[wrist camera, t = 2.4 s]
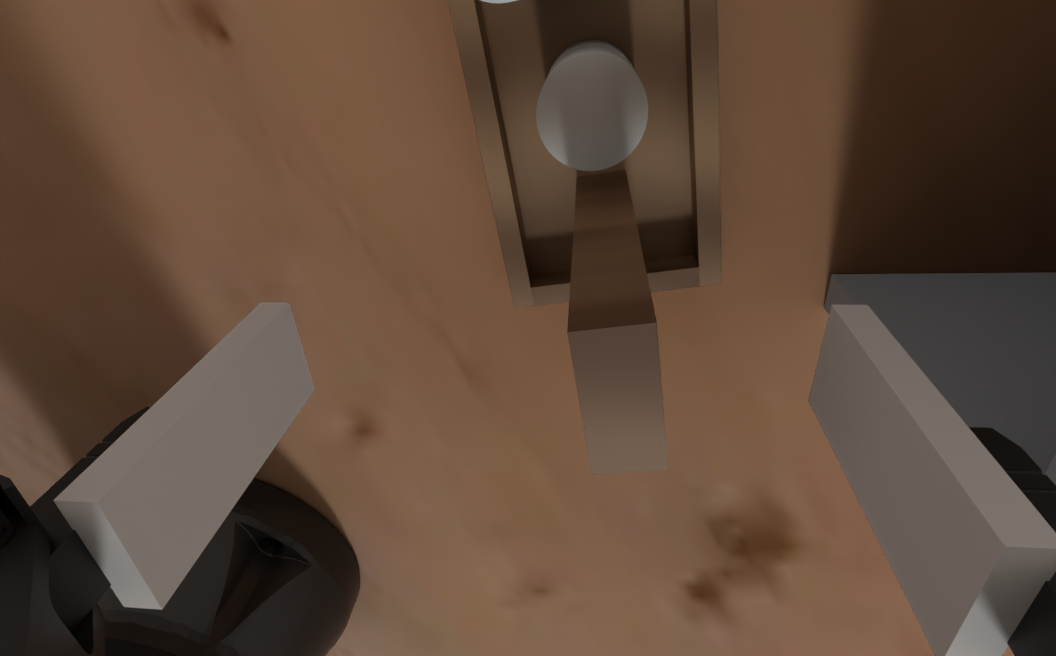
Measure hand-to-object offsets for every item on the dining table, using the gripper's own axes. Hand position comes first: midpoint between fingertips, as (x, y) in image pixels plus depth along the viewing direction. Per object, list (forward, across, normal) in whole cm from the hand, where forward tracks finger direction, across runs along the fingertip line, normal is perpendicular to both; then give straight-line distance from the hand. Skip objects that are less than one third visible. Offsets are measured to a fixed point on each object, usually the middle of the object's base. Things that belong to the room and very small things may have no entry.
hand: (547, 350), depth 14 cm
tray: (+10, -1, -5) cm, 11 cm away
